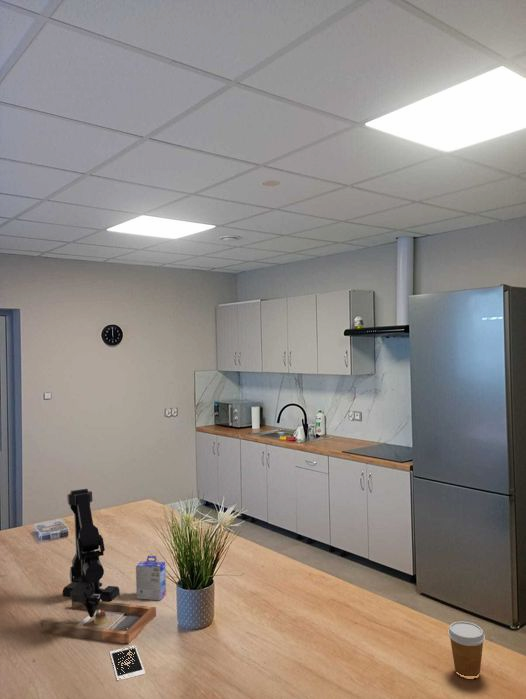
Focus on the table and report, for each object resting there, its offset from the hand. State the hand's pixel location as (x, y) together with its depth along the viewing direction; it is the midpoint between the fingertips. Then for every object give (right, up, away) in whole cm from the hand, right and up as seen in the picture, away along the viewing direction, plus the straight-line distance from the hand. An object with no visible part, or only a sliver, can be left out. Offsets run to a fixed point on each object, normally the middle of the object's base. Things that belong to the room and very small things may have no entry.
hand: (91, 616), depth 182 cm
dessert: (+3, -3, +1) cm, 4 cm away
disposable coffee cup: (+114, +1, -34) cm, 119 cm away
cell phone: (+18, -2, -24) cm, 30 cm away
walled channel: (+3, -2, -1) cm, 4 cm away
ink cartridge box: (+17, -2, +18) cm, 25 cm away
